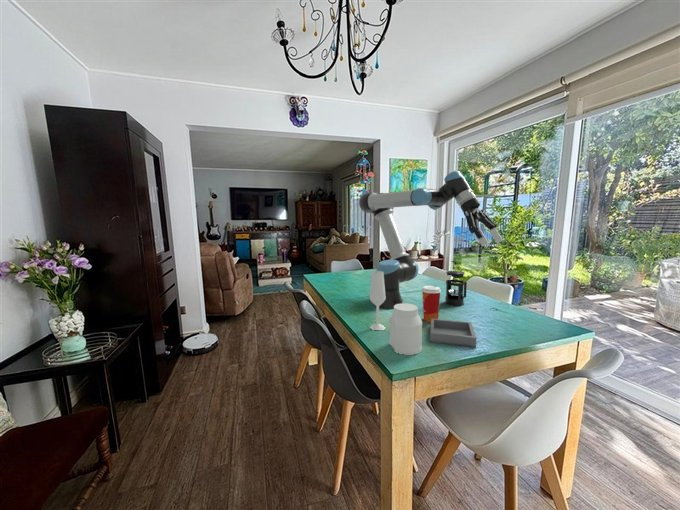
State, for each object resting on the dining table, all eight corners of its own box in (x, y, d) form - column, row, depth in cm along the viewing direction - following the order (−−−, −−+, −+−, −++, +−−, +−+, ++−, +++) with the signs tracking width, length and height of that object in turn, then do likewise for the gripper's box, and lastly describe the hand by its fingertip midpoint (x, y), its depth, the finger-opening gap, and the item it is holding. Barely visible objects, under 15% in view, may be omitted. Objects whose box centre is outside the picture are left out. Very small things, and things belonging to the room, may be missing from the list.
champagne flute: (366, 328, 116) (366, 272, 112) (374, 323, 121) (374, 270, 118) (380, 332, 111) (380, 274, 108) (388, 326, 117) (388, 271, 114)
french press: (450, 307, 141) (451, 262, 138) (440, 301, 150) (441, 260, 147) (470, 305, 143) (472, 261, 140) (459, 299, 152) (460, 259, 149)
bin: (430, 341, 102) (430, 332, 102) (430, 326, 116) (431, 318, 116) (476, 347, 97) (476, 337, 96) (470, 330, 111) (471, 322, 111)
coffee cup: (426, 315, 129) (427, 284, 127) (443, 319, 123) (444, 287, 121) (417, 320, 123) (417, 288, 121) (434, 325, 117) (435, 291, 116)
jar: (425, 354, 93) (425, 311, 91) (397, 356, 92) (398, 313, 90) (411, 339, 104) (412, 301, 102) (387, 341, 103) (387, 302, 101)
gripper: (460, 196, 112) (487, 241, 106) (488, 197, 127) (513, 236, 121) (445, 207, 118) (470, 250, 111) (474, 206, 133) (497, 244, 126)
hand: (493, 243), depth 116 cm, fingers open, 13 cm apart
